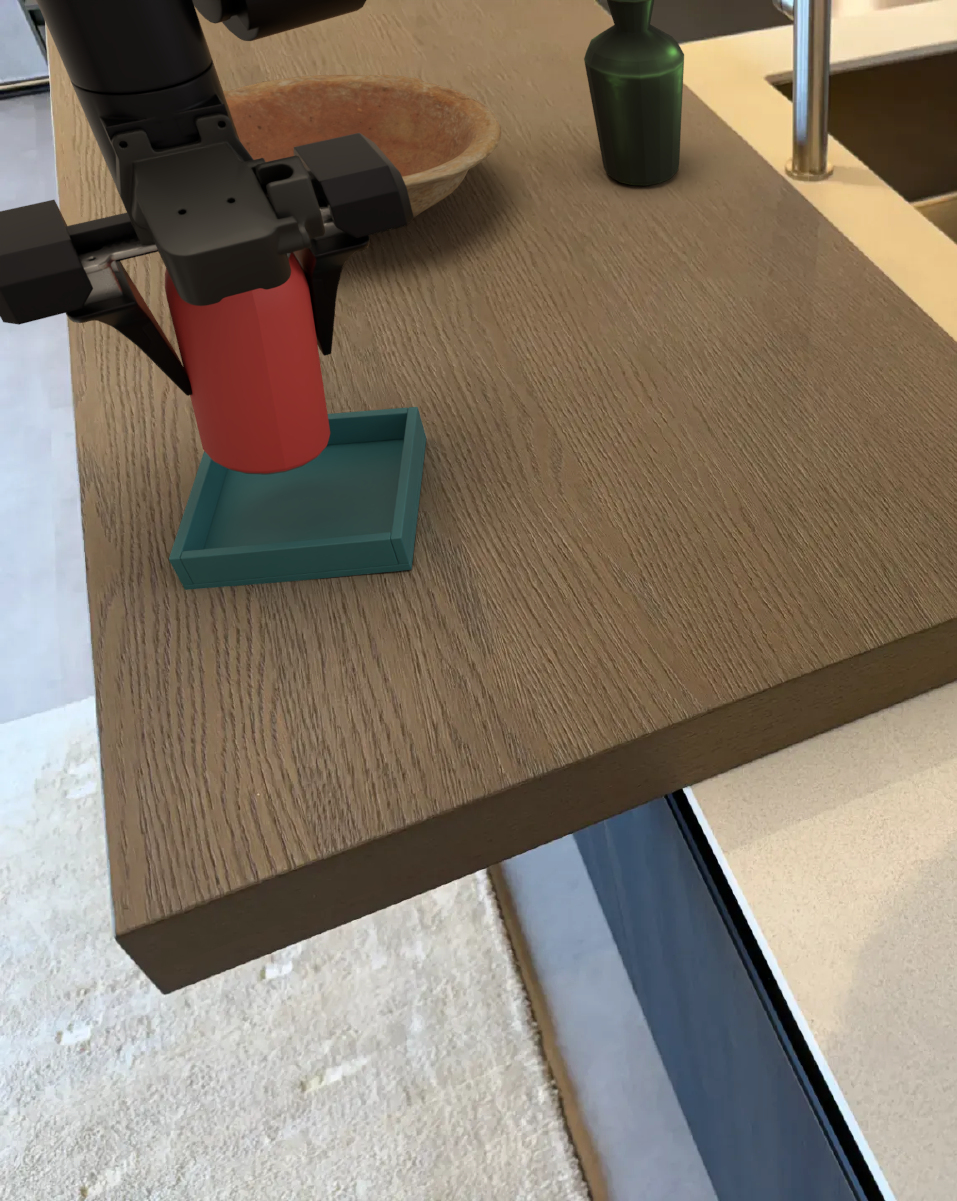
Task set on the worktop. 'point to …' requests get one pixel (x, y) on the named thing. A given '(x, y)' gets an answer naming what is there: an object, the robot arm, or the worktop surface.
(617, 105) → the potion bottle
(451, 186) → the bowl
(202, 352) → the beer can
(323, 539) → the tray
